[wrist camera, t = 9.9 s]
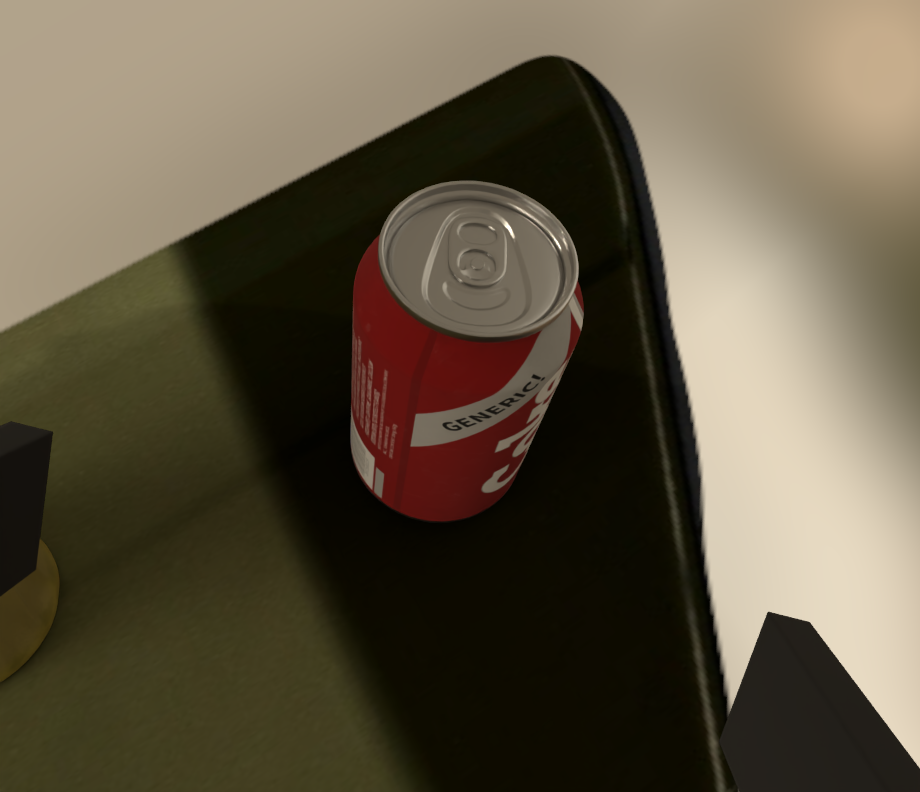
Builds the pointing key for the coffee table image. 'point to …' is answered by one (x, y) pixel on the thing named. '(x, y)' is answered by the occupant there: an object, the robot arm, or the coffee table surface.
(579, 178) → the coffee table surface
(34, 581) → the vase
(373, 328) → the soda can
